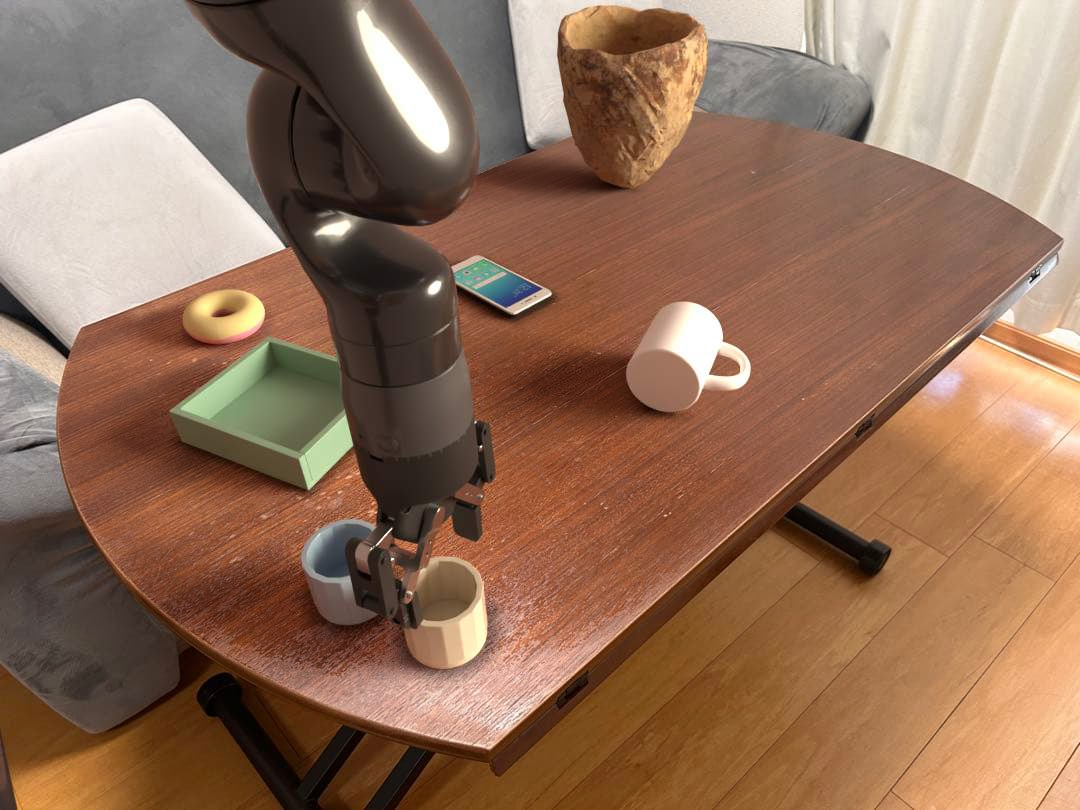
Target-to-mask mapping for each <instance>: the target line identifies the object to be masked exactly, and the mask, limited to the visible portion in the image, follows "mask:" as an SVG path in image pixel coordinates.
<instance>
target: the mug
mask: <svg viewBox="0 0 1080 810" xmlns="http://www.w3.org/2000/svg"><path fill="white" fill-rule="evenodd" d="M722 329H723V328H722V327H721V323H720V322H719V320H718V318H717V317H716V315H714V314H713V312H711V311H710V310H709V309H707V308H706V307H704V306H702V305H700V304H698V303H695V302H691V301H675V302H671V303H669V304H667V305H664V306H663V307H662V308H660V310H658V312H657V313H656V314H655V316H654V318H653V320H652V321H651V323H650V325H649V326H648V328H647V330H646V332H645V334H644V335H643V337H642V338H641V340H640V342H639V344H638V346H637V347H636V350H635V351H634V353H633V354H632V357H631V358H630V360H629V362H628V364H627V366H626V371H625V377H626V382H627V385H628V387H629V389H630V391H631V393H632V395H634V397H635V398H636V399H637V400H638V401H639V402H641V403H643V404H644V406H647V407H648V408H651V409H653V410H656V411H659V412H664V413H678V412H681V411H684V410H687V409H689V408H691V407H692V406H693V405H694V404H695V403H697V401H698V400H699V398H700V396H701V393H702V391H703V390H708V391H715V392H716V391H718V392H728V391H729V392H730V391H734V390H738V389H741V387H743V386H744V385H745V384H746V383H747V382H748V380H749V377H750V374H751V363H750V361H749V359H748V357H747V356H746V355H745V353H744V352H743V351H742V350H740V349H739V348H738V347H736V346H735V345H732V344H730V343H727V342H725V341H723V330H722ZM717 356H722V357H726V358H728V359H731V360H733V361H735V362H736V363H738V365H739V367H740V370H739V372H738V373H737V374H735V375H729V376H721V375H720V376H719V375H712V374H710V372H711V371H712V370H711V369H712V367H713V365H714V363H715V360H716V358H717Z"/></svg>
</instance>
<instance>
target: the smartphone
mask: <svg viewBox="0 0 1080 810" xmlns="http://www.w3.org/2000/svg"><path fill="white" fill-rule="evenodd" d="M451 267H452V270H453V273H454V277H455V283H456V290H459V291H461V293H464V294H466V295H468V296H470V297H472V298H473V299H475V300H477V301H479V302H481V303H483V304H484V305H486V306H488V307H489V308H491V309H493V310H495V311H497V312H499V313H500V314H503V316H506V317H508V318H510V319H516V318H517V317H519V316H521V315H523V314H524V313H526V312H529V311H531V310H532V309H535V308H536V307H538V306H540V305H541V304H543V303H546V302H547V301H549V300H550V299H552V290H550V289H548V288H546V287H545V286H543V285H540V284H538V283H536V282H534V281H532V280H530V279H528V278H526V277H524V276H523V275H520V274H518V273H516V272H514V271H513V270H510V269H509V268H506V267H504V266H502V265H500V264H499V263H497V262H494V261H492V260H491V259H488V258H486V257H484V256H482V255H473V256H471V257H469V258H467V259H464V260H462V261H461V262H457V263H456V264H453V265H451Z"/></svg>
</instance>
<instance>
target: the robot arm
mask: <svg viewBox="0 0 1080 810" xmlns="http://www.w3.org/2000/svg"><path fill="white" fill-rule="evenodd" d="M182 1H183V2H184V4H185V6H186V7H187V8H188V10H189V12H190V13H191V14H192V16H193V17H194V19H195V20H196V21H197V23H198V24H199V25H200V26H201V28H202V29H203V30H204V32H205V33H206V34H207V35H208V36H209V38H211V39H212V40H213V42H215V43H216V44H217V45H218V46H219V47H220V48H221V49H223V50H224V51H226V52H227V53H228V54H230V55H232V56H234V57H236V58H237V59H239V60H241V61H243V62H246V63H248V64H250V65H253V66H256V67H258V68H261V70H260V72H259V73H258V74H257V76H256V78H255V80H254V82H253V84H252V86H251V90H250V92H249V95H248V99H247V105H246V113H245V139H246V147H247V153H248V157H249V162H250V165H251V169H252V172H253V175H254V178H255V179H256V183H257V187H258V188H259V190H260V192H261V194H262V196H263V198H264V200H265V202H266V204H267V207H268V208H269V210H270V212H271V214H272V215H273V217H274V219H275V222H276V223H277V225H278V227H279V228H280V230H281V232H282V233H283V235H284V237H285V239H286V241H287V242H288V244H289V246H290V248H291V251H293V253H294V256H295V257H296V259H297V261H298V263H299V265H300V267H301V268H302V270H303V271H304V273H305V275H306V276H307V278H308V279H309V281H310V282H311V284H312V286H313V287H314V288H315V290H316V292H317V294H318V295H319V297H320V298H321V301H322V303H323V306H324V311H325V315H326V316H325V317H326V321H327V325H328V328H329V332H330V337H331V341H332V345H333V349H334V353H335V357H336V358H337V362H338V368H339V379H340V392H341V397H342V402H343V406H344V410H345V414H346V418H347V422H348V426H349V430H350V434H351V438H352V442H353V446H352V447H353V449H354V454H355V458H356V463H357V466H358V471H359V474H360V477H361V480H362V482H363V484H364V486H365V487H366V489H367V490H368V491H369V492H370V494H371V496H372V497H373V498H374V500H375V502H376V503H377V509H376V518H375V525H376V526H375V527H376V528H375V529H374V530H373V531H372V532H371V534H370V535H369V536H368V537H367V538H366V539H365V540H361V539H359V538H356V537H352V538H351V539H350V540H349V541H348V543H347V544H346V547H345V556H346V560H347V565H348V569H349V574H350V578H351V583H352V587H353V592H354V596H355V601H356V605H357V606H359V607H361V608H364V609H368V610H370V611H372V612H374V613H377V614H378V615H379V616H381V617H382V618H384V619H386V620H388V621H389V622H390V623H392V624H394V625H396V626H399V627H401V628H405V629H408V630H409V628H412V629H417V628H418V627H419V625H420V624H421V622H422V621H423V618H422V613H421V609H420V604H419V599H418V594H417V591H415V589H416V585H417V581H418V577H419V573H420V570H422V569H424V568H426V567H427V566H428V565H429V561H430V558H432V552H433V550H434V549H433V548H434V545H435V540H436V536H437V535H438V532H439V531H440V529H441V528H442V526H443V524H444V523H445V522H447V521H448V520H449V519H450V518H451V520H452V528H453V532H454V534H456V535H457V536H458V537H460V538H463V539H466V540H469V541H472V542H475V543H476V542H479V540H480V539H481V537H482V536H483V535H484V532H483V524H482V523H483V516H482V507H481V506H482V503H483V501H484V500H485V495H486V492H485V490H484V489H483V488H484V486H485V484H492V483H493V482H494V480H495V478H496V473H497V469H496V463H495V462H496V461H495V455H494V445H493V440H492V432H491V425H490V423H489V422H485V421H483V420H479V419H477V418H475V410H474V401H473V391H472V380H471V374H470V368H469V365H468V361H467V358H466V354H465V350H464V346H463V339H462V331H461V330H462V329H461V321H460V311H459V299H458V291H457V290H458V289H457V288H456V283H455V277H454V273H453V270H452V265H451V263H450V261H449V259H448V258H447V256H446V255H445V254H444V253H443V252H442V251H441V250H439V249H438V248H437V247H436V246H434V245H432V244H431V243H429V242H427V241H425V240H423V239H421V238H419V237H417V236H415V235H413V234H411V233H409V232H408V231H406V230H404V229H403V228H401V226H402V227H427V226H431V225H435V224H438V223H440V222H442V221H444V220H446V219H447V218H449V217H450V216H452V215H453V214H454V213H456V212H457V211H458V210H459V209H460V207H461V206H462V205H463V204H464V203H465V202H466V200H467V198H468V197H469V195H470V193H471V191H472V189H473V187H474V183H475V182H476V178H477V175H478V170H479V165H480V157H481V154H480V152H481V144H480V142H481V141H480V133H479V132H480V131H479V126H478V121H477V116H476V111H475V108H474V105H473V101H472V99H471V96H470V94H469V91H468V89H467V86H466V84H465V83H464V81H463V79H462V76H461V74H460V72H459V71H458V69H457V67H456V65H455V64H454V62H453V60H452V59H451V57H450V56H449V54H448V52H447V51H446V50H445V47H443V45H442V44H441V42H440V41H439V40H438V38H437V36H436V35H435V34H434V32H433V31H432V29H431V28H430V26H429V24H428V23H427V21H426V20H425V18H424V17H423V16H422V15H421V13H420V11H419V10H418V9H417V7H416V5H414V3H413V1H412V0H182ZM399 226H400V227H399ZM395 540H398V541H404V542H407V543H411V544H415V545H417V547H416V550H415V552H413V551H410V550H407V549H405V548H403V547H400V546H398V545H397V543H396V541H395ZM395 565H396V566H399V567H400V568H402V569H403V570H404V574H403V576H402V578H403V581H401V579H399V578H396V577H395V576H394V568H395ZM9 767H10V766H9V763H8V758H7V753H6V749H5V745H4V738H3V735H2V731H1V729H0V810H19V808H18V804H17V800H16V795H15V791H14V787H13V786H14V785H13V781H12V777H11V772H10V768H9Z"/></svg>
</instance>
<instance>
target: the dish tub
mask: <svg viewBox="0 0 1080 810" xmlns="http://www.w3.org/2000/svg"><path fill="white" fill-rule="evenodd" d="M168 413H169V416H170V417H171V420H172V423H173V425H174V427H175V430H176V432H177V434H178V436H179V439H180V441H181V442H182V443H184V444H187V445H190V446H192V447H195V448H197V449H200V450H203V451H205V452H207V453H211V454H213V455H216V456H218V457H221V458H222V459H227V460H229V461H231V462H233V463H237V464H239V465H242V466H244V467H246V468H249V469H252V470H254V471H257V472H259V473H263V474H265V475H267V476H270V477H272V478H275V479H278V480H280V481H282V482H286V483H287V484H290V485H294V486H295V487H299V488H301V489H304V490H305V491H310V490H311V489H312V488H313V487H314V486H315V485H316V484H317V483H318V482H319V481H320V480H321V479H322V478H323V477H324V476H325V475H326V473H328V471H330V470H331V469H332V468H333V466H335V465H336V464H337V463H338V461H339V460H341V459H342V458H343V457H344V456H345V454H346V453H347V452H348V451H349V450H350V449H351V448H352V447H354V446H353V442H352V438H351V434H350V430H349V426H348V422H347V418H346V414H345V410H344V406H343V402H342V397H341V392H340V379H339V368H338V362H337V358H336V355H335V356H334V355H331V354H328V353H325V352H321V351H318V350H316V349H312V348H309V347H305V346H302V345H299V344H296V343H293V342H289V341H286V340H283V339H279V338H276V337H273V336H267V337H266V338H265V339H263V340H261V341H260V342H259V343H257V344H256V345H255V346H254V347H252V348H251V349H250V350H248V351H247V352H246V353H244V354H243V355H241V356H240V357H239V358H237V359H236V360H235V361H234V362H233V363H231V364H230V365H228V366H227V367H226V368H224V369H223V370H221V371H220V372H219V373H217V374H216V375H215V376H214V377H212V378H211V379H209V380H208V381H207V382H206V383H204V384H203V385H201V386H200V387H199V388H197V389H196V390H195V391H194V392H192V393H190V394H189V395H188V396H187V397H185V398H184V399H183V400H182V401H180V402H179V403H177V404H176V405H174V407H172V408H170V410H168Z"/></svg>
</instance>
